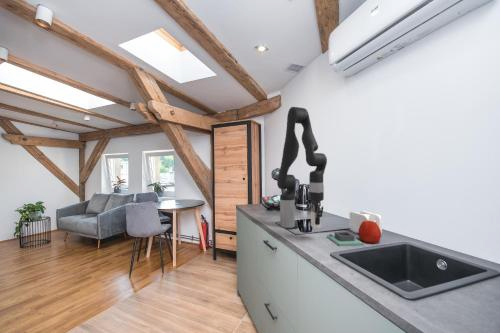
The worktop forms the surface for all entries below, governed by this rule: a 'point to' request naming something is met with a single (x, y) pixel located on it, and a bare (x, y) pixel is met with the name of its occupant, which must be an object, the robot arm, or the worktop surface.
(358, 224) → the cable organizer
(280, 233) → the worktop surface
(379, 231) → the apple
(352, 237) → the board
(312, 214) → the plug
